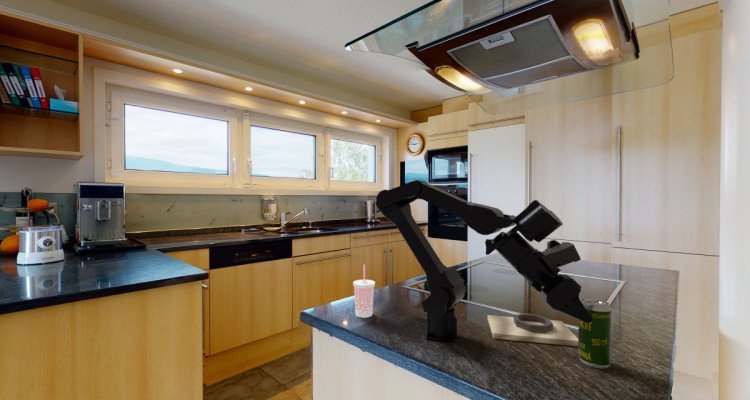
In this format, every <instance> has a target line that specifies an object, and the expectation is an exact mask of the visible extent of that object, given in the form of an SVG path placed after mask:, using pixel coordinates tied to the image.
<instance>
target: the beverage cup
mask: <svg viewBox="0 0 750 400" xmlns="http://www.w3.org/2000/svg"><path fill="white" fill-rule="evenodd" d="M362 266H363V267H362V268H363V269H362V270H363V271H362V272H363V278H362V279H357V280H354V281H353V282H352V285H353V289H354V290H353V291H354V307H355V316H356V317H358V318H364V319H365V318H370V317H372V316H373V306H374V294H375V293H374V292H375V286H376V281H374V280H372V279H366V263H363V265H362Z"/></svg>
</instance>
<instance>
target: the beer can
mask: <svg viewBox="0 0 750 400" xmlns="http://www.w3.org/2000/svg"><path fill="white" fill-rule="evenodd" d="M579 299H580V301H581V302H582V304H583V305H584V307H585V308H586V310H587V311H588V313H589V314H590V316H591V317H592V319H593V321H592V322H590V323H586V322H584V321H582V320H579V319H578V321H577V323H578V331H577V332H578V333H577V334H578V337H577V338H578V346H577V349H578V350H577V356H578V358H579V360H580V362H581V363H583V364H584V365H586V366H588V367H590V368H595V369H603V370H604V369H608V368H609V367H610V366H611V364H612V363H611V361H612V308H611V304H610V303H609V302H608V301H605V300H602V299H598V298H591V297H584V298H579Z"/></svg>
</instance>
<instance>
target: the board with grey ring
mask: <svg viewBox="0 0 750 400" xmlns="http://www.w3.org/2000/svg"><path fill="white" fill-rule="evenodd" d="M487 322H488V326H489V328H490V331H491V335H492V338H493V339H495V340H505V341H507V340H508V341H517V342H518V341H519V342H529V343H537V344H538V343H540V344H548V345H549V344H550V345H559V346H560V345H561V346H572V347H578V337H577V336H576V335H575V334H574V332H572V331H571V329H570V328H569V327H568V326H566V324H565V323H564V322H563V321H562V320H555V319H554V320H552V319H550V318H548V317H545V316H542V315H539V314H536V313H534V314H533V313H525V312H524V313H523V312H521V313H518V314H515V315H513V316H504V315H493V314H492V315H491V314H490V315H489V314H487Z"/></svg>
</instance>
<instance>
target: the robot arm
mask: <svg viewBox="0 0 750 400" xmlns="http://www.w3.org/2000/svg"><path fill="white" fill-rule="evenodd" d="M418 199H420V200H423V201H424V202H427V203H429V204H431V205H433V206H435V207H437V208H440V209H442V210H444V211H445V212H448V213H449V214H452V215H453V216H456V217H457V218H458V219H460V220H461V221H462V222H463V223H464V224H465V225H466V226H468V227H469V228H470V229H471V230H473V231H474V232H476V233H477V234H479V235H481V236H488V235H493V234H495V233H498V234H497V235H496V236H495V237H494V238H492V239H491V238H486V239H485V242H484V244H485V255H486V256H489V255H490V254H491V253H493V252H494V251H497V253H498V254H499V255H501V256H502V257H503V259H504V260H505V261H507V262H508V263H509V264H510V265H511V267H512V268H513V269H515V271H517V272H518V273H519V275H521V277H522V278H524V280H525V281H526V282H527V283H528V284H529V285H530V286H531V287H532V288H533V289H535V291H537V292H538V293H541V296H540V297H541V298H542V299H543V301H545V302H546V303H547V304H548V305H549V306H550V307H551V308H552V309H553V310H554V311H559V312H561V313H563V314H566V315H569V316H571V317H573V318H575V319H578V321H579V320H582V321H584V322H586V323H590V322H592V321H593V319H592V317H591V316H590V314H589V313H588V311H587V310H586V308H585V307H584V305H583V304H582V302H581V301H580V299H581V298H580V293H582V286H581V285H580V284H579V282H577V281H576V280H575V279H574V278H572V277H571V276H569V275H568V274H559V273H560V272H561V271H562V270H561V267H563V266H566V265H569V264H571V263H577V262H579V261H581V259H582V258H581V256H580V254H579V252H578V250H577V248H576V246H575V245H574V243H571V242H569V241H566V242H565V241H562V242H561V243H560V242H559V241H558V240H556V239H551V240H550V241H546V242H547V243H546V248H545V249H544V250H543V251H541V250H538V248H535V247H534V246H533V245H532V244H531V243H532V242H533V241H535V242H537V243H541V242H542V241H543V240H545V239H546V238H547V237H549V236H550V235H551V234H553V233H554V232H555V231H556V230H558V229H559V228H560V227H562V226H563V225H564V223H563V222H562V221H561V219H560V218H559V216H557V215H556V214H555V212H553V211H552V210H550V209H549V208H547V207H546V206H545V205H544V204H543V203H541V202H540V200H537V199H534V200H532V201H531V202H530V203H529V204H528V205H527V207H526V208H524V209H523V210H522V211H521V212H520V213H518V215H516V216H515V215H513V214H511V215H510V214H506V213H504V212H503V211H502V210H501V209H500V208H498V207H494V206H490V205H486V204H482V203H476V202H472V201H468V200H466V199H464V198H461V197H459V196H457V195H454V194H452V193H450V192H447V191H445V190H443V189H442V188H439V187H436V186H434V185H432V184H431V183H428V182H427V181H426V180H421V179H414V180H411V181H409V182H406V183H405V184H402V185H399V186H396V187H393V188H391V189H382V190H380V191H379V192H378V193H377V196H376V198H375V205H376V208H377V210H379V212H380V213H381V214H382V215H383V216H384V218H386V219H387V220H389V222H390V223H392V224H394V225H395V226H396V228H397V230H398V231H399V233H400V234H401V236H402V238H403V239H404V240H405V243H406V244H407V246H408V247H409V249H410V251H411V252H412V255H413V256H414V257H415V259H416V260H417V262H418V264H419V265H420V267H421V269H422V270H423V272H424V273H425V277H426V284H427V288H428V291H429V293H430V295H429V296H428V297H426V298H425V299H424V300H423V301H422V302H421V306H422V311H423V312H424V313H426V333H425V339H427V340H435V341H445V342H446V341H447V342H455V341H456V339H455V338H456V336H458V335H457V334H458V315H457V313H456V314H455V307H457V306H458V304H459V301H461V300H463V299H464V298H465V294H466V286H465V284H464V282H465V279H463V277H461V275H460V273H459V271H458V270H457V268H456V266H451V267H447V265H445V264H444V263H443V262H442V261H441V259H440V257H439V256H438V255H437V253H436V251H435V249H434V248H433V247H432V245H431V244H430V242H429V240H428V239H427V237H426V236H425V234H424V232H423V231H422V230H421V228H420V226H419V225H418V223H417V221H416V220H415V218H414V217H413V215H412V209H411V203H413V202H415V201H416V200H418ZM510 227H512V228H511V229H510V230H508V231H506V232H505V231H502V230H503V229H507V228H510ZM528 241H529V242H528ZM530 242H531V243H530Z"/></svg>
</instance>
